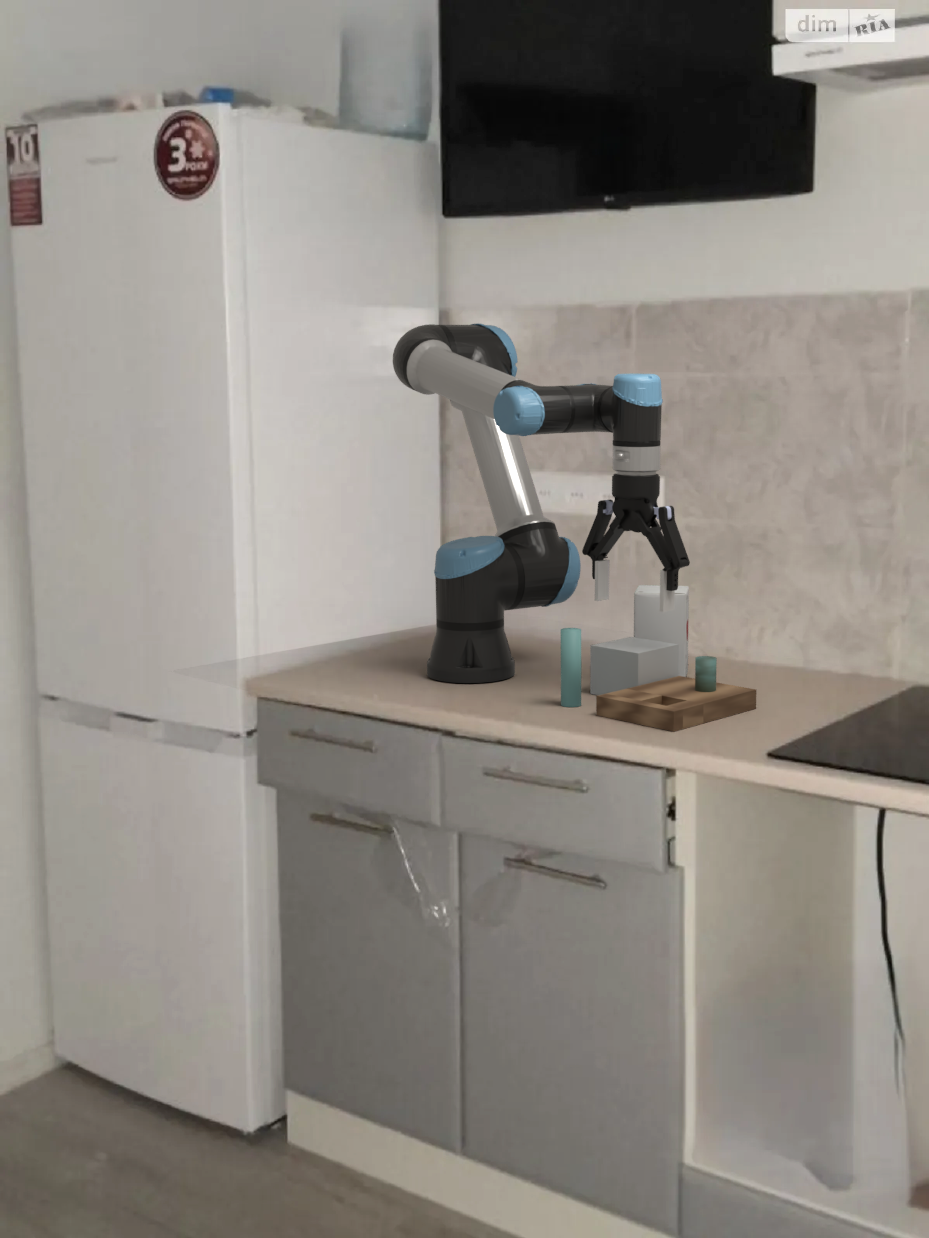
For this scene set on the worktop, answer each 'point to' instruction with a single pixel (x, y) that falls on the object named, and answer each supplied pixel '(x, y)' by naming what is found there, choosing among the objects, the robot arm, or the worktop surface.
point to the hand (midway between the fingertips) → (633, 605)
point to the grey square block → (631, 663)
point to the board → (678, 700)
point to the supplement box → (663, 620)
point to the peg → (571, 667)
